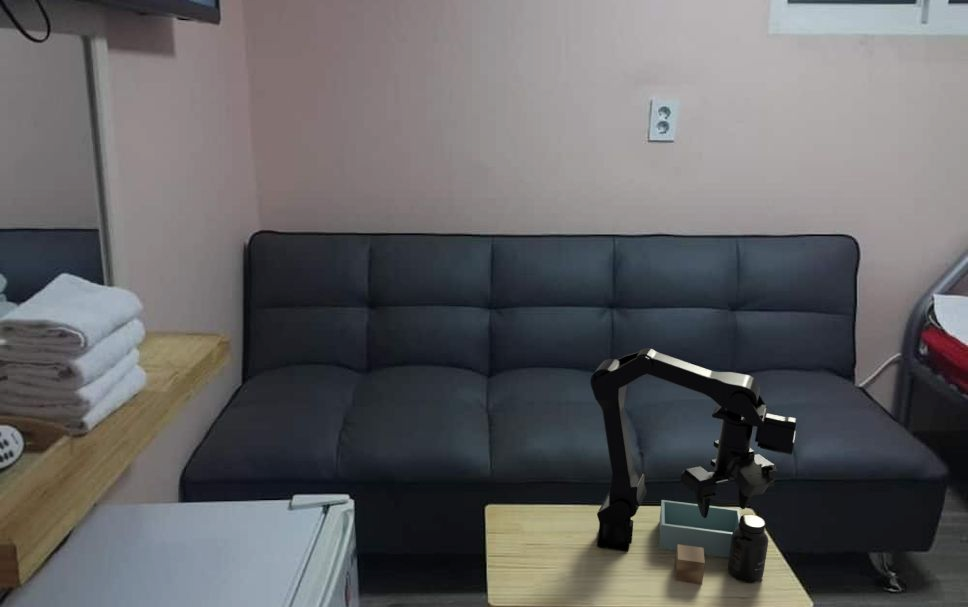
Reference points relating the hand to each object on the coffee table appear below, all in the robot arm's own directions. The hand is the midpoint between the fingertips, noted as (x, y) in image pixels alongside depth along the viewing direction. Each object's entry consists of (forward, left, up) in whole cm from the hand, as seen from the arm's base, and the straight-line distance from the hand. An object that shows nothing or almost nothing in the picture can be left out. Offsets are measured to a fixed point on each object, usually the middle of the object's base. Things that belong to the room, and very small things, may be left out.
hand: (723, 512), depth 159 cm
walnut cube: (-6, -4, -13) cm, 14 cm away
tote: (-3, +9, -13) cm, 16 cm away
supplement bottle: (+6, -1, -13) cm, 14 cm away
